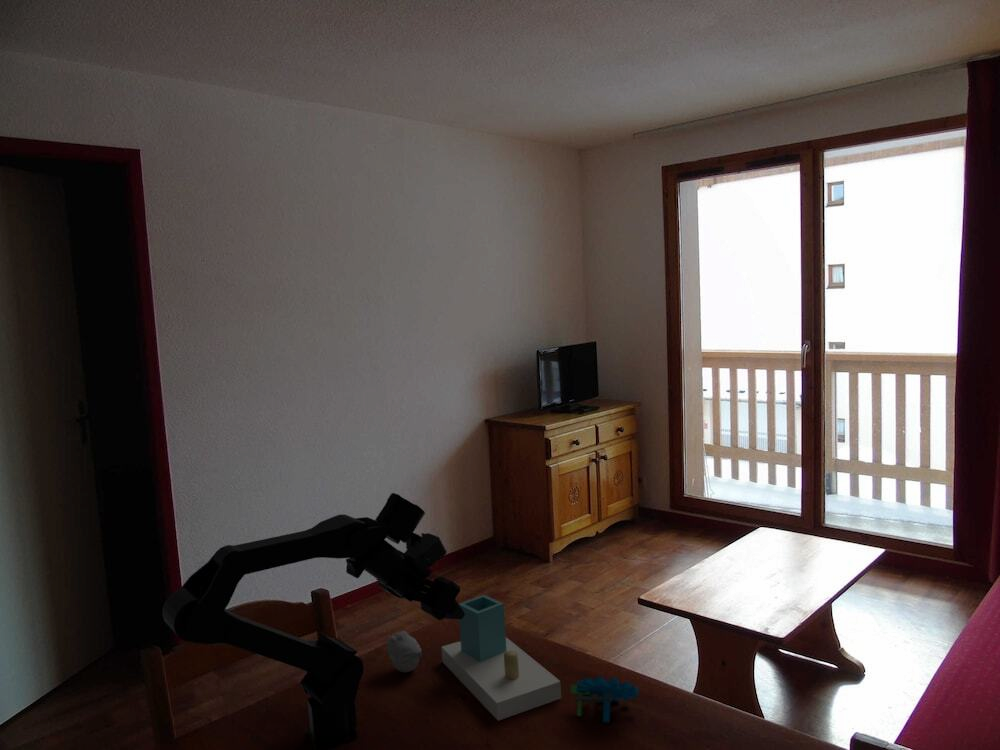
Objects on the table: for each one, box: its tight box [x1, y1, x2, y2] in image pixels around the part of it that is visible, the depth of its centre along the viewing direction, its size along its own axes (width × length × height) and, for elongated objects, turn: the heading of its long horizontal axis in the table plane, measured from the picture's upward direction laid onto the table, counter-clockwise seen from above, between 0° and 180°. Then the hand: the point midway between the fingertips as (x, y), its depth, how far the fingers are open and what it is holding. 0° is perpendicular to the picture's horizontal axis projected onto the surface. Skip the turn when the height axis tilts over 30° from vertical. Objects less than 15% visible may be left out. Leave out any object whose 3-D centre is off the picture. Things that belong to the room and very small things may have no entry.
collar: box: [458, 594, 507, 662], centre depth 132 cm, size 6×6×9 cm
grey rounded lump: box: [385, 630, 423, 673], centre depth 132 cm, size 6×7×7 cm
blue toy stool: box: [569, 676, 640, 724], centre depth 114 cm, size 11×6×10 cm
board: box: [441, 637, 562, 722], centre depth 127 cm, size 12×23×8 cm, turn 27°
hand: (448, 608), depth 127 cm, fingers open, 9 cm apart
